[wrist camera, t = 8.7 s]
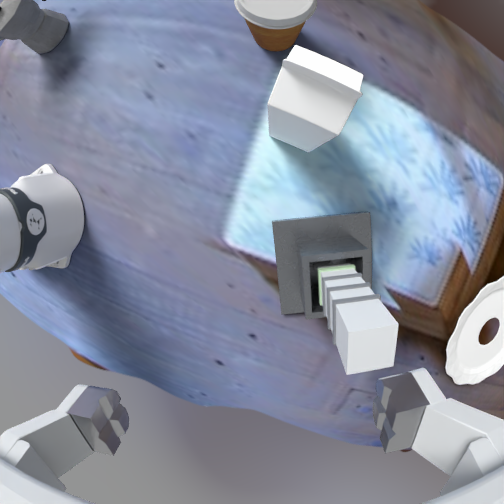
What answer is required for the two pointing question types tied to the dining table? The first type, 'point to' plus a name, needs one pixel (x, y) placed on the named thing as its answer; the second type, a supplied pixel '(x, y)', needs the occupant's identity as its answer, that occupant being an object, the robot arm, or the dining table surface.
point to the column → (356, 319)
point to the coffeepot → (31, 24)
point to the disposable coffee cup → (275, 20)
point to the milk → (311, 99)
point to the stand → (318, 255)
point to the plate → (466, 338)
